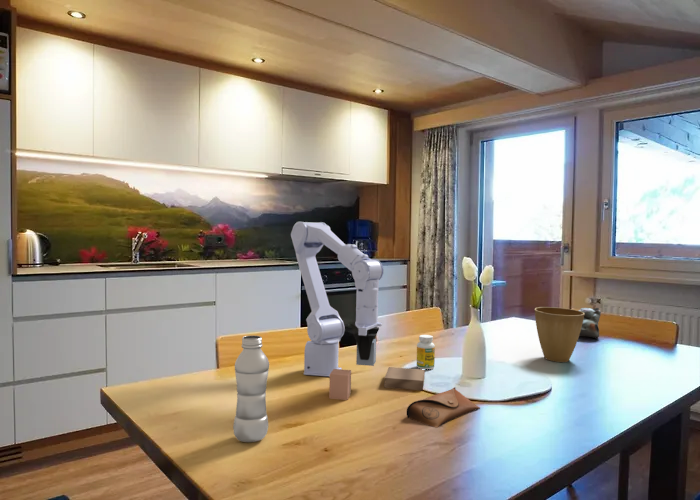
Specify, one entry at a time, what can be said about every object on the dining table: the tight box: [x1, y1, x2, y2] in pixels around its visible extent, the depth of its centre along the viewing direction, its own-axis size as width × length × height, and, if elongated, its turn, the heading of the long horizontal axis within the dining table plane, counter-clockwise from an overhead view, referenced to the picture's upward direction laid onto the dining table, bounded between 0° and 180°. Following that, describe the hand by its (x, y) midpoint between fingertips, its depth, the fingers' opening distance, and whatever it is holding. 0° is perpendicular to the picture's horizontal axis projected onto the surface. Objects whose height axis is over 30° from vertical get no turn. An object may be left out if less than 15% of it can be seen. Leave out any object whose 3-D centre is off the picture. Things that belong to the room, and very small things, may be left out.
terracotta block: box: [328, 369, 352, 401], centre depth 119 cm, size 4×4×6 cm
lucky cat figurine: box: [577, 307, 602, 340], centre depth 193 cm, size 15×12×14 cm
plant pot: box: [534, 306, 584, 363], centre depth 157 cm, size 15×15×16 cm
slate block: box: [355, 338, 377, 367], centre depth 127 cm, size 4×4×6 cm
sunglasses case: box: [406, 387, 481, 428], centre depth 110 cm, size 18×7×7 cm, turn 134°
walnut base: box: [383, 366, 426, 391], centre depth 130 cm, size 10×10×3 cm
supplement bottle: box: [416, 334, 436, 371], centre depth 145 cm, size 5×5×10 cm
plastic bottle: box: [232, 335, 270, 443], centre depth 94 cm, size 6×7×20 cm
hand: (366, 357), depth 127 cm, fingers closed on slate block, 4 cm apart
